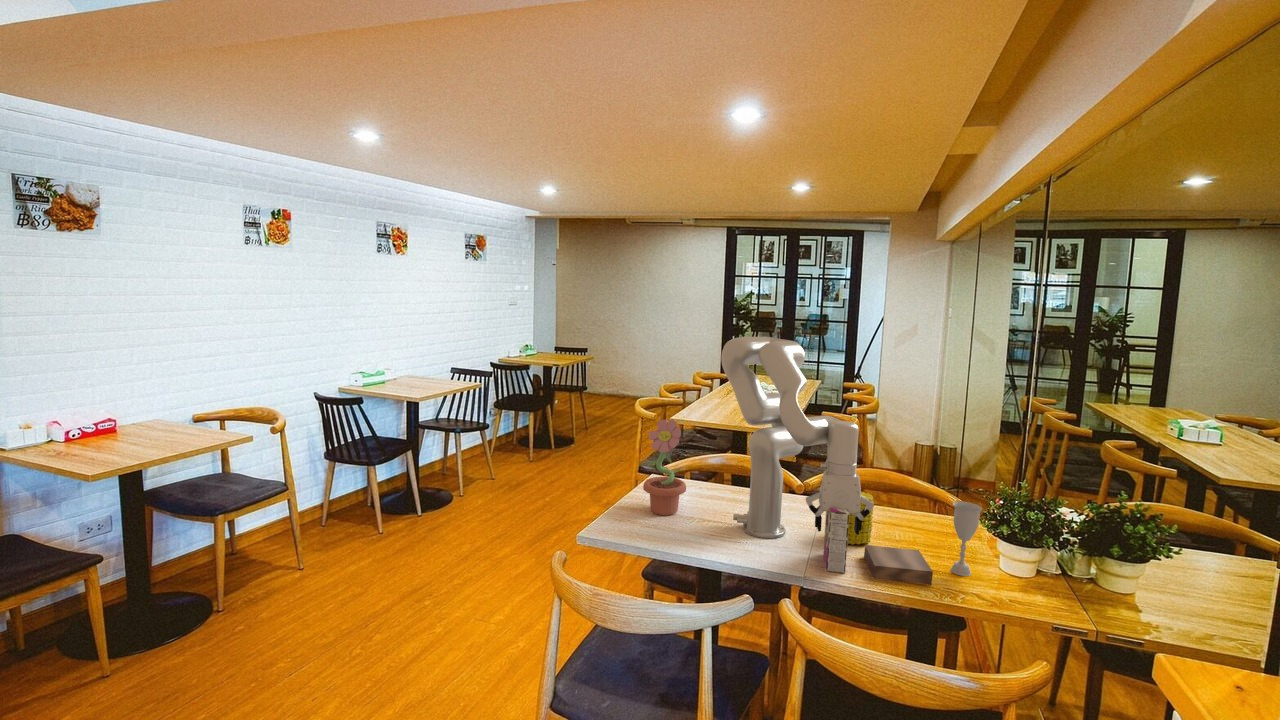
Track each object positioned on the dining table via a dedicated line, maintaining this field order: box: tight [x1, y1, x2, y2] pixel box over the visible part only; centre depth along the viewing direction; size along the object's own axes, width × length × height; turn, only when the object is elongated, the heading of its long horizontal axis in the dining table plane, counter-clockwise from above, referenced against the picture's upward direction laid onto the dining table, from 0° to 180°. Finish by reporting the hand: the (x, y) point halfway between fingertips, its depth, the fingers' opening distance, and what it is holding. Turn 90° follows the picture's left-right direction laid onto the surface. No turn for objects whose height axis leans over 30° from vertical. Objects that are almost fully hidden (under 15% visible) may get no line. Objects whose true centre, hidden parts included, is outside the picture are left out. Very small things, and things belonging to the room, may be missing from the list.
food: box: [847, 491, 874, 546], centre depth 183 cm, size 15×12×10 cm
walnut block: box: [863, 544, 934, 586], centre depth 164 cm, size 14×13×4 cm
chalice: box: [950, 501, 983, 577], centre depth 164 cm, size 7×7×18 cm
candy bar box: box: [822, 509, 849, 574], centre depth 166 cm, size 11×5×16 cm, turn 168°
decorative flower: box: [642, 419, 687, 516], centre depth 200 cm, size 15×14×30 cm
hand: (837, 531), depth 166 cm, fingers open, 9 cm apart
